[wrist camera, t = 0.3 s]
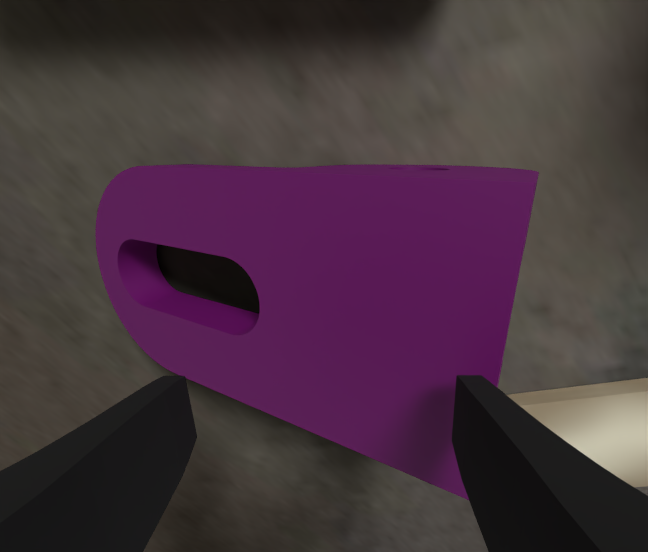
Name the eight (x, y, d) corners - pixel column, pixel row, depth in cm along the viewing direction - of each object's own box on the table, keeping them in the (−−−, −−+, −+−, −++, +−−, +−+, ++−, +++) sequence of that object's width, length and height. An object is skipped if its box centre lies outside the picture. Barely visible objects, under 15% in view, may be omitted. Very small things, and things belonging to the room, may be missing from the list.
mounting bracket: (228, 295, 26) (501, 367, 18) (115, 347, 19) (474, 503, 11) (217, 158, 23) (541, 167, 15) (78, 161, 16) (537, 182, 8)
